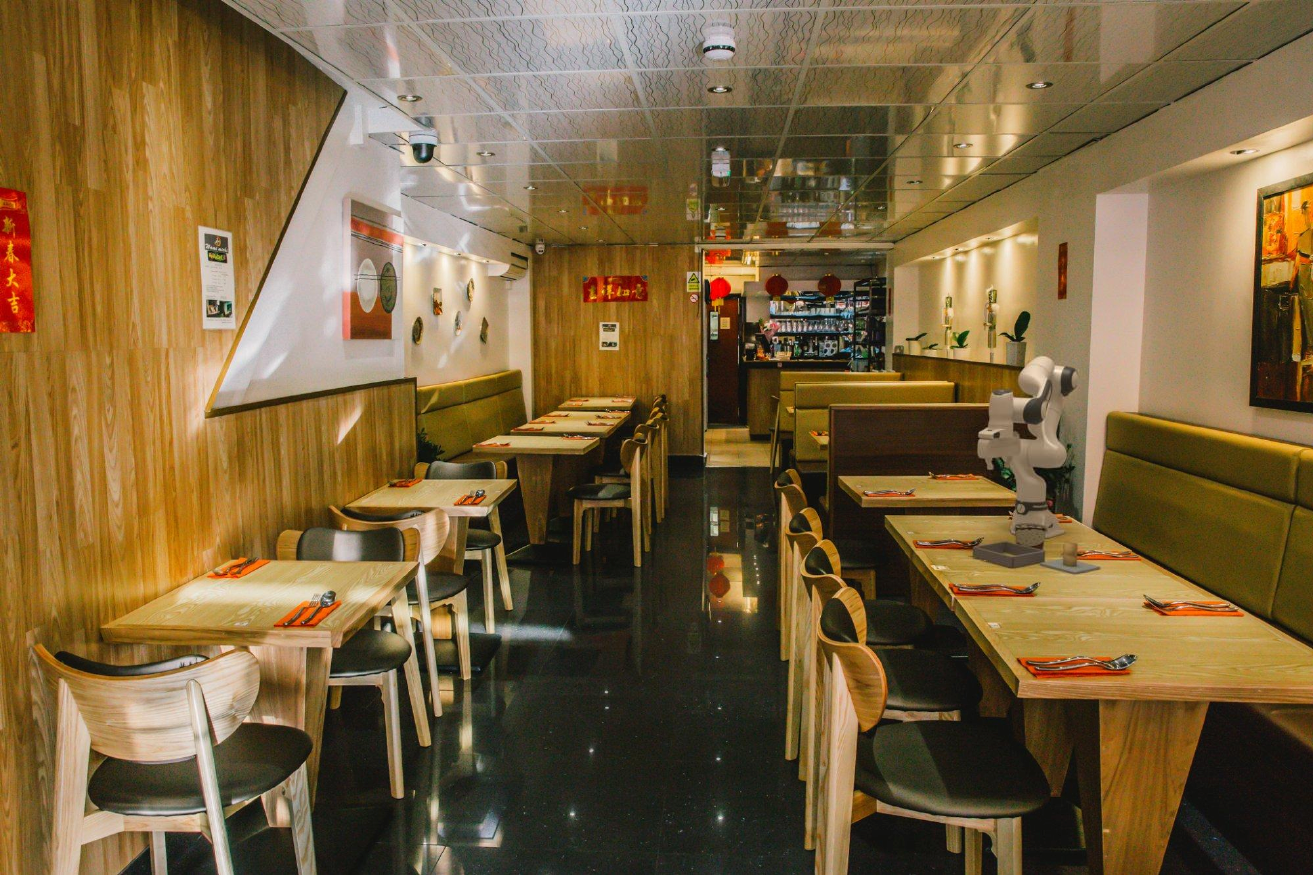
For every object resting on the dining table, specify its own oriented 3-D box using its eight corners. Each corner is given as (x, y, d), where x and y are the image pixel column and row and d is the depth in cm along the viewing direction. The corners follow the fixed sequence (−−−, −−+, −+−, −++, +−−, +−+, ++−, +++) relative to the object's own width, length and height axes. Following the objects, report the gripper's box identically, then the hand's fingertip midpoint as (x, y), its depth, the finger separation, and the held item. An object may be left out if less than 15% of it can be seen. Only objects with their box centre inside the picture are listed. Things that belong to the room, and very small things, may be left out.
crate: (1004, 551, 336) (1005, 541, 335) (1045, 561, 320) (1046, 551, 320) (971, 557, 327) (971, 546, 327) (1011, 568, 312) (1012, 557, 311)
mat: (1065, 560, 322) (1065, 558, 322) (1100, 569, 310) (1100, 566, 310) (1039, 565, 316) (1039, 563, 316) (1074, 574, 304) (1074, 572, 303)
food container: (1041, 548, 340) (1042, 523, 339) (1046, 552, 334) (1047, 526, 333) (1008, 547, 341) (1009, 522, 340) (1012, 551, 335) (1014, 525, 334)
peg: (1068, 562, 316) (1069, 540, 315) (1079, 565, 312) (1080, 543, 311) (1060, 564, 314) (1061, 542, 313) (1071, 567, 310) (1072, 544, 309)
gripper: (1012, 430, 343) (1010, 465, 345) (975, 433, 333) (973, 469, 335) (1025, 431, 338) (1024, 467, 339) (988, 434, 328) (987, 471, 329)
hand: (998, 468), depth 337 cm, fingers open, 8 cm apart
